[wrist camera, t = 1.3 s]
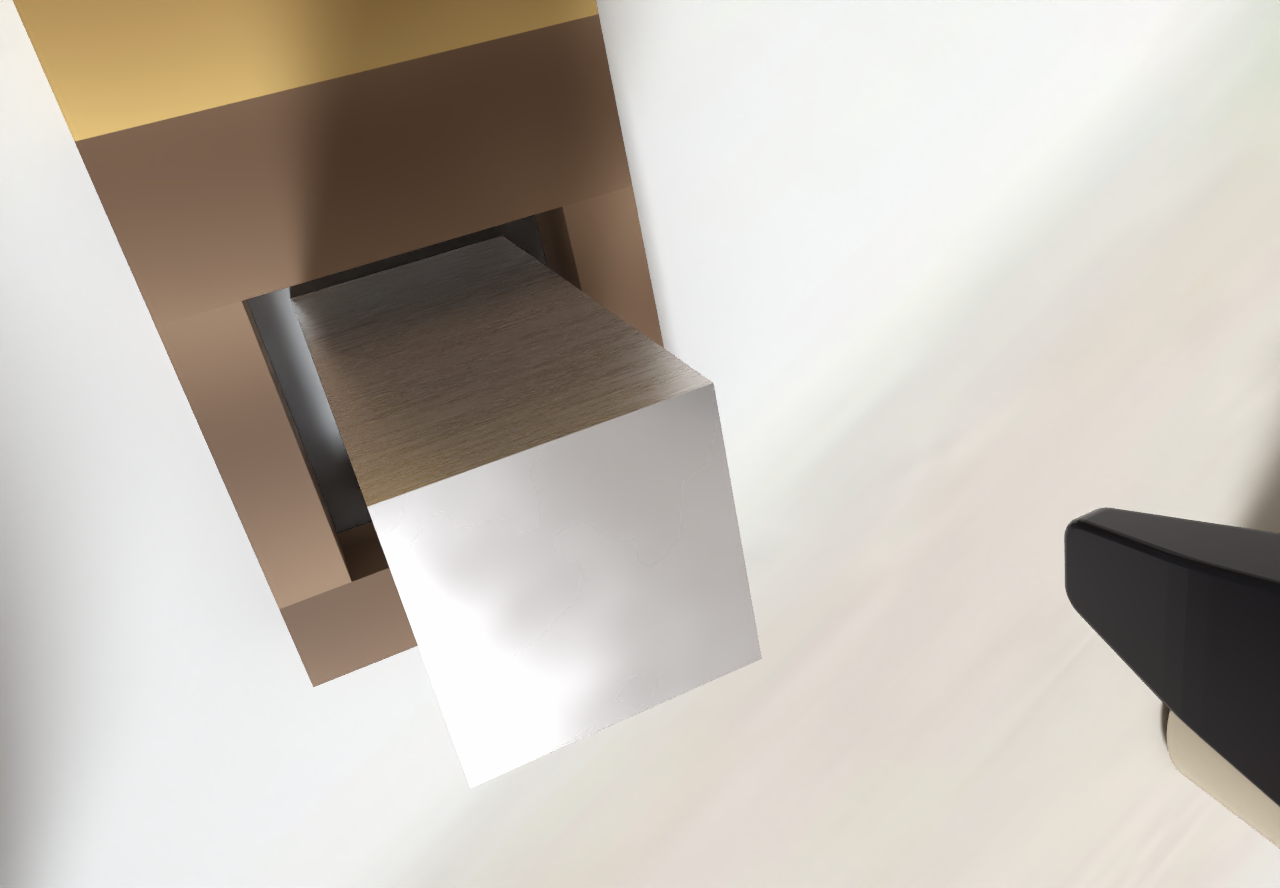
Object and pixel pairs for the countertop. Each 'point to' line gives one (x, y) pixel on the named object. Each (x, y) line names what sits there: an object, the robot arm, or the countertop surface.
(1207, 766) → the travel mug
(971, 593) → the countertop surface
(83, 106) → the wooden slotted board
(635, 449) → the peg
